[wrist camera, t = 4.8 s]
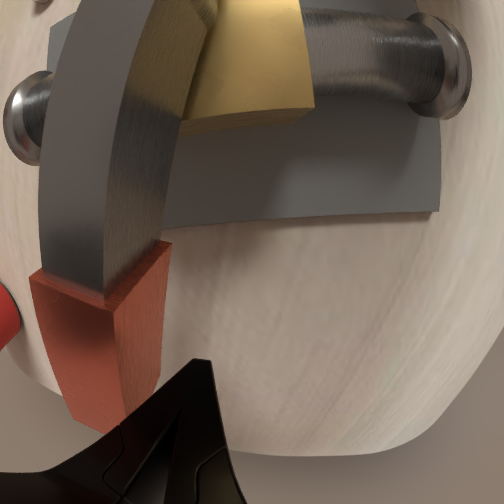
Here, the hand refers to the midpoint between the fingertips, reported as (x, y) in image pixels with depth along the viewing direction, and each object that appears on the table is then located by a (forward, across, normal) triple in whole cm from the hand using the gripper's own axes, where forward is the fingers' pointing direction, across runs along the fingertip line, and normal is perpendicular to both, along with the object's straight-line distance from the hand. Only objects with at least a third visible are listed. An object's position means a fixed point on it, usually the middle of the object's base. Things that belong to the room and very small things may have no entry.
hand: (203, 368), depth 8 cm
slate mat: (+8, +1, -10) cm, 13 cm away
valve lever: (+1, +2, -5) cm, 5 cm away
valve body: (+8, +1, -10) cm, 13 cm away
